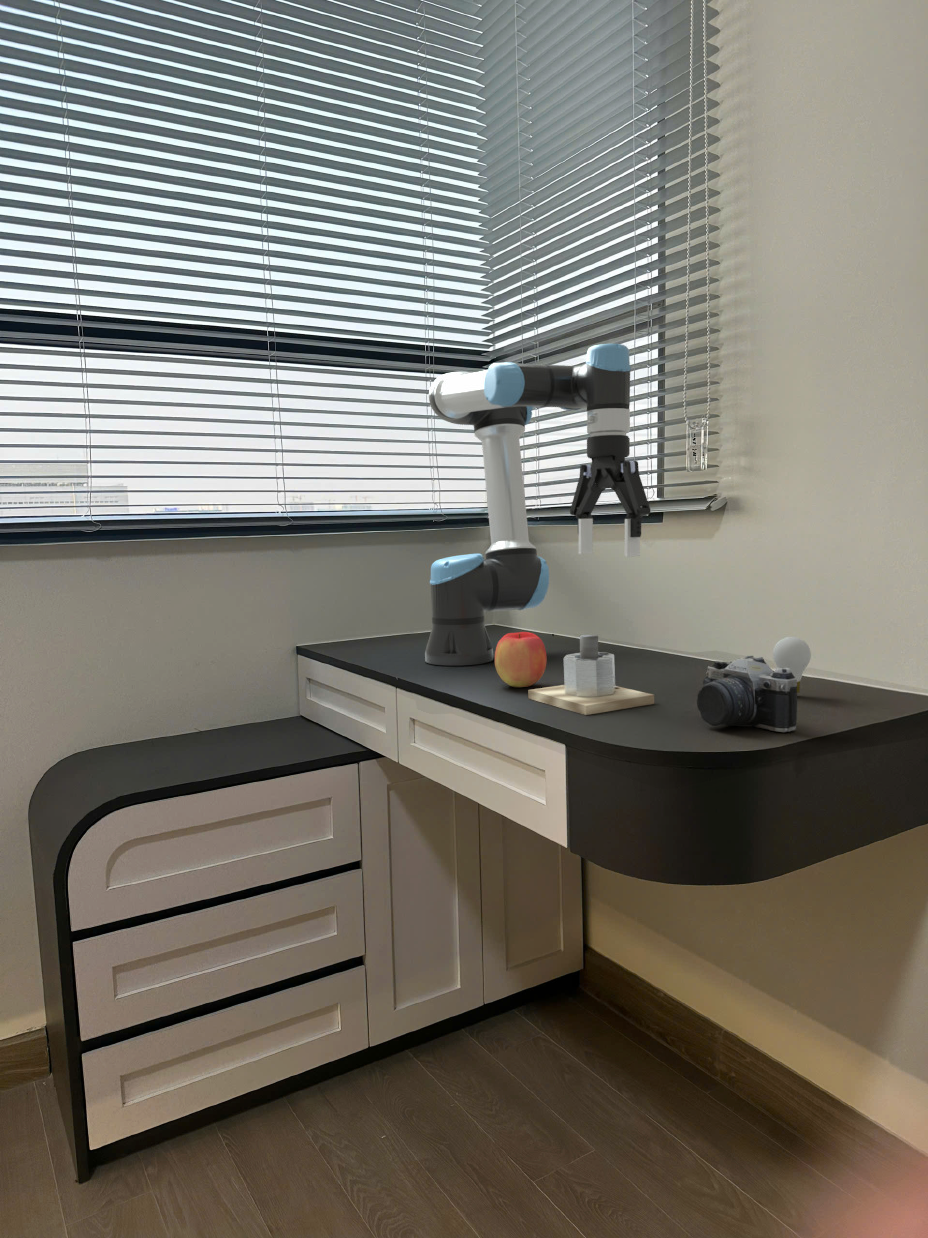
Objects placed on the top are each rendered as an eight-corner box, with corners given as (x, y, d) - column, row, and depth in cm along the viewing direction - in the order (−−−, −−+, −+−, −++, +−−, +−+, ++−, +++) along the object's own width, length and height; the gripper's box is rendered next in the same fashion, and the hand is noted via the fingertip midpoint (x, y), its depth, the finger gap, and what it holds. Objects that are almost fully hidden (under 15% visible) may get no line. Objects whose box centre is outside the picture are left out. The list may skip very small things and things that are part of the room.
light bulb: (764, 695, 145) (765, 636, 144) (791, 691, 148) (792, 633, 147) (790, 701, 140) (791, 640, 139) (818, 697, 142) (819, 637, 141)
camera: (670, 721, 129) (670, 655, 128) (721, 712, 134) (721, 648, 133) (752, 742, 115) (752, 669, 114) (804, 732, 120) (806, 661, 119)
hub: (556, 691, 146) (555, 655, 145) (594, 684, 150) (593, 649, 149) (585, 699, 139) (584, 661, 138) (624, 691, 143) (623, 654, 142)
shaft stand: (528, 698, 148) (527, 635, 147) (593, 689, 155) (592, 628, 154) (585, 715, 134) (584, 645, 133) (654, 703, 141) (653, 637, 140)
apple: (492, 683, 163) (490, 630, 162) (541, 681, 164) (540, 629, 163) (498, 692, 154) (497, 637, 153) (551, 690, 155) (550, 635, 154)
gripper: (551, 440, 162) (552, 553, 165) (636, 428, 140) (636, 558, 143) (583, 441, 166) (584, 551, 168) (672, 429, 144) (670, 556, 146)
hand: (608, 555), depth 156 cm, fingers open, 13 cm apart
